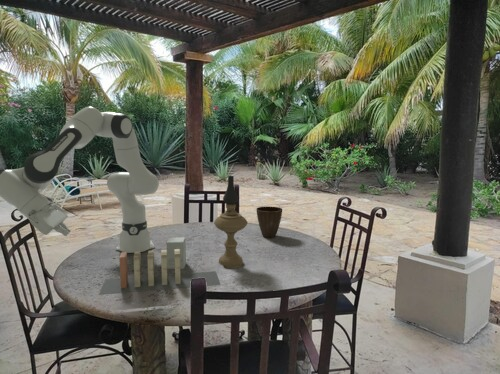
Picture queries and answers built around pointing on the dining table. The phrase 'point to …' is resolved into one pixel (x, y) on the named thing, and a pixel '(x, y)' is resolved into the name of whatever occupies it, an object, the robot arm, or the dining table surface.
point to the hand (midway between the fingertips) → (68, 233)
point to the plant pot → (269, 220)
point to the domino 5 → (177, 266)
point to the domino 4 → (164, 266)
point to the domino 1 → (123, 270)
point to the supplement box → (171, 245)
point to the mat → (157, 283)
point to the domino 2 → (137, 269)
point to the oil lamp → (230, 227)
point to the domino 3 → (151, 268)
